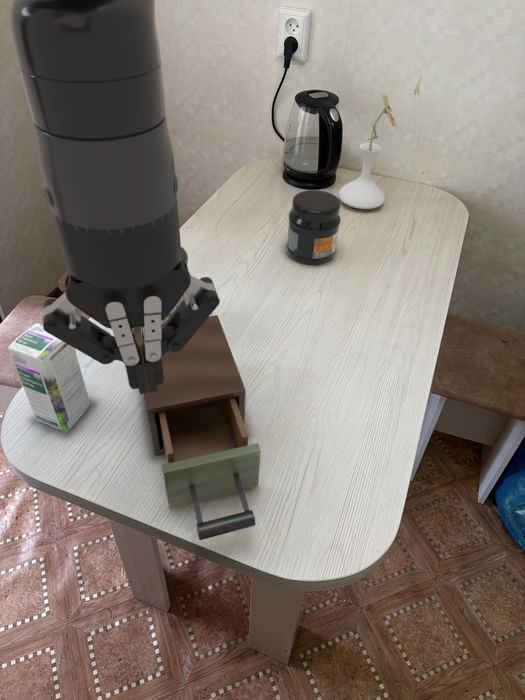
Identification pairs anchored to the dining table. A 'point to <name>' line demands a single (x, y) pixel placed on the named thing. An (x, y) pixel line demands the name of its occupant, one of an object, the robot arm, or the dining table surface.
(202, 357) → the cabinet
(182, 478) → the drawer
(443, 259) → the dining table surface
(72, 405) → the syrup box
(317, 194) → the supplement container
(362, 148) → the flower in vase
